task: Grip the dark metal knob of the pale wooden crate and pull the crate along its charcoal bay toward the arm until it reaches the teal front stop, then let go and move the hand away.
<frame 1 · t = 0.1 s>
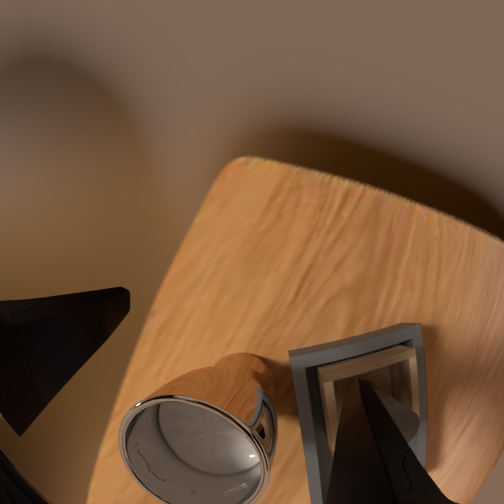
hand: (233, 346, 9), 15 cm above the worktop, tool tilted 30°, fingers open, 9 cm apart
beer glass: (242, 384, 23), on the worktop
crate: (375, 406, 15), point 6 cm above the worktop, slide at 0.0 cm
bay: (358, 424, 20), on the worktop
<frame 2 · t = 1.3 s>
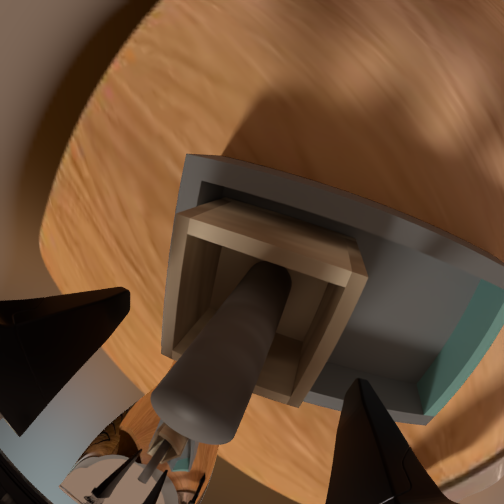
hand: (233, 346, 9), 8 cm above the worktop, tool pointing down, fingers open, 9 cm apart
beer glass: (213, 368, 20), on the worktop
crate: (245, 325, 10), point 6 cm above the worktop, slide at 0.0 cm
bay: (343, 291, 15), on the worktop
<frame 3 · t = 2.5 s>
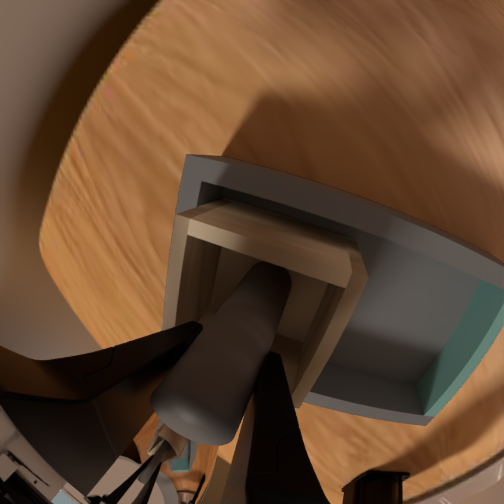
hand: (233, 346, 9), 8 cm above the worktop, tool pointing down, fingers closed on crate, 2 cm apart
beer glass: (213, 369, 20), on the worktop
crate: (245, 326, 10), point 6 cm above the worktop, slide at 0.0 cm, touching gripper
bay: (343, 292, 15), on the worktop
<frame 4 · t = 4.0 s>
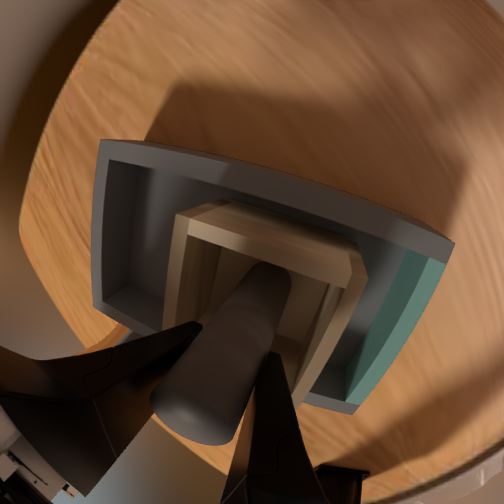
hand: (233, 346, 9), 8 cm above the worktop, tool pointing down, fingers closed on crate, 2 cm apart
beer glass: (151, 340, 21), on the worktop
crate: (244, 326, 10), point 6 cm above the worktop, slide at 5.8 cm, touching gripper
bay: (250, 260, 16), on the worktop
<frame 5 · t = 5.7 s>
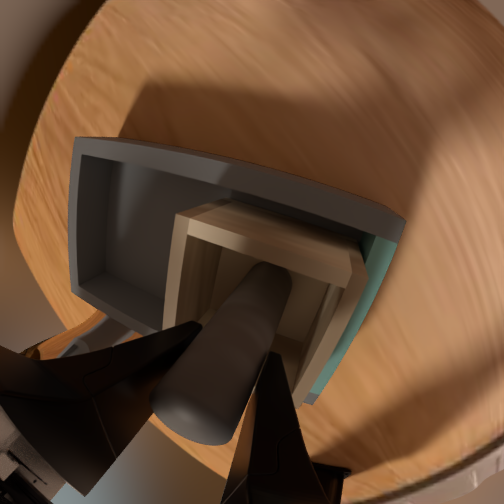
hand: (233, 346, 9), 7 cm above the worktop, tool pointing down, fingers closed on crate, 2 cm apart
beer glass: (128, 327, 22), on the worktop
crate: (244, 326, 10), point 6 cm above the worktop, slide at 8.4 cm, touching gripper
bay: (210, 246, 17), on the worktop
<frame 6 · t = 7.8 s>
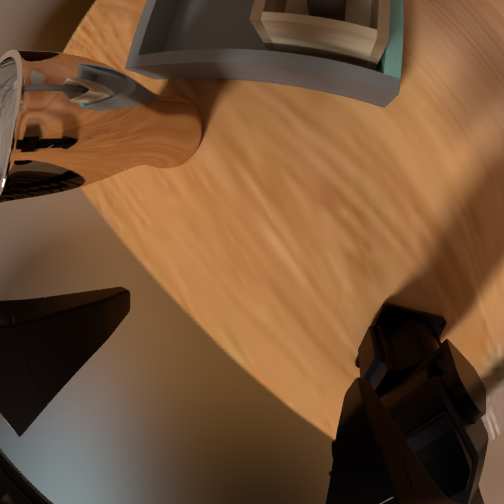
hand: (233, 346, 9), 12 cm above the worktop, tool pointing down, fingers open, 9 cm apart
beer glass: (170, 131, 19), on the worktop
bay: (271, 21, 15), on the worktop
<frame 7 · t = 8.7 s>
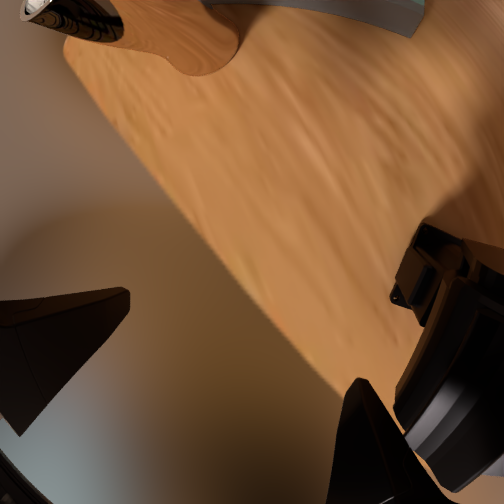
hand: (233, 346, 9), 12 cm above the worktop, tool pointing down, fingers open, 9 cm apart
beer glass: (205, 46, 17), on the worktop
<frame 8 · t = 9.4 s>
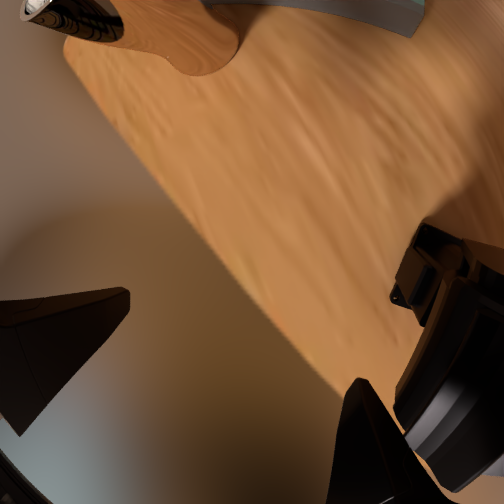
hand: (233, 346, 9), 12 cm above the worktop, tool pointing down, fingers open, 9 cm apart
beer glass: (205, 45, 17), on the worktop
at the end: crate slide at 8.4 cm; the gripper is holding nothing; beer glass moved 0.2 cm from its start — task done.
